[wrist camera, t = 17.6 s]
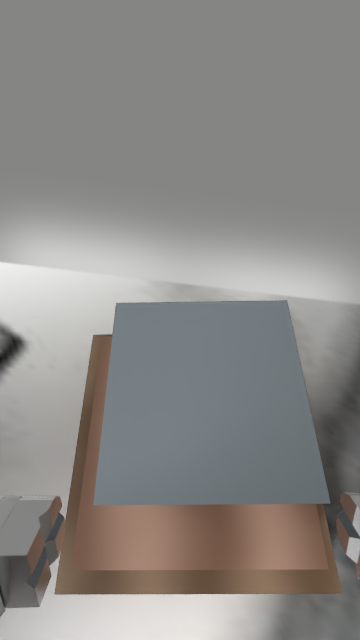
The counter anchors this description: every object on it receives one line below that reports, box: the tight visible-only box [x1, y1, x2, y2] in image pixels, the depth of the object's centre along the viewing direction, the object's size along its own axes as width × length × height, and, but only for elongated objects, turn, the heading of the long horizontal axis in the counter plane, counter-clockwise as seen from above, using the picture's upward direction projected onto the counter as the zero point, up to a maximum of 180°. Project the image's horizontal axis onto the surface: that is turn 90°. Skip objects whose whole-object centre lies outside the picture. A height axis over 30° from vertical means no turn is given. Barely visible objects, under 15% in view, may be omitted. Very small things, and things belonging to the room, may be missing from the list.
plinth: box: [55, 335, 342, 594], centre depth 20 cm, size 16×16×8 cm
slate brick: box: [93, 301, 331, 505], centre depth 12 cm, size 5×5×10 cm
